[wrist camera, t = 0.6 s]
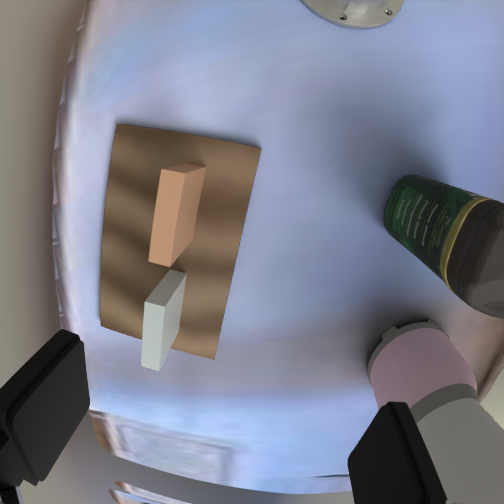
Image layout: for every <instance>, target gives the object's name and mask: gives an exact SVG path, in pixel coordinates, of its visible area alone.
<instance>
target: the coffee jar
mask: <svg viewBox="0 0 504 504" xmlns="http://www.w3.org/2000/svg"><path fill="white" fill-rule="evenodd" d="M384 224H385V228H386V230H387V231H388V233H389V234H390V235H391V236H392V237H393V238H394V239H396V240H397V241H398V242H399V243H400V244H402V245H403V246H404V247H405V248H407V249H408V250H409V251H410V252H411V253H413V254H414V255H415V256H416V257H417V258H418V259H420V260H421V261H422V262H423V263H424V264H425V265H426V266H427V267H428V268H430V269H431V270H432V271H433V272H434V273H435V274H436V275H437V276H438V277H439V278H441V279H442V280H443V281H444V282H445V284H446V285H447V286H448V288H449V289H450V290H451V291H452V292H453V293H454V294H456V295H457V296H458V297H459V298H460V299H462V300H463V301H464V302H465V303H466V304H467V305H469V306H470V307H472V308H473V309H475V310H478V311H480V312H482V313H484V314H487V315H489V316H493V317H497V318H502V319H504V203H501V202H499V201H496V200H493V199H490V198H487V197H484V196H481V195H478V194H475V193H472V192H469V191H466V190H463V189H460V188H457V187H454V186H450V185H447V184H444V183H440V182H438V181H435V180H431V179H428V178H425V177H421V176H418V175H407V176H404V177H402V178H401V179H400V180H399V181H398V182H397V183H396V184H395V186H394V187H393V190H392V191H391V194H390V196H389V199H388V201H387V205H386V208H385V213H384Z"/></svg>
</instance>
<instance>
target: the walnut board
mask: <svg viewBox="0 0 504 504" xmlns="http://www.w3.org/2000/svg"><path fill="white" fill-rule="evenodd" d="M260 153H261V148H258V147H253V146H248V145H244V144H239V143H234V142H230V141H225V140H219V139H214V138H209V137H204V136H198V135H192V134H187V133H181V132H175V131H168V130H162V129H155V128H148V127H140V126H133V125H124V124H117V126H116V131H115V137H114V143H113V149H112V155H111V162H110V169H109V176H108V184H107V192H106V202H105V212H104V223H103V237H102V254H101V284H100V318H101V326H102V327H105V328H108V329H111V330H114V331H117V332H120V333H123V334H126V335H129V336H132V337H135V338H138V339H141V340H142V335H143V318H144V304H145V300H146V299H147V298H148V296H149V295H150V294H151V293H152V291H153V290H154V289H155V288H156V286H157V285H158V284H159V283H160V281H161V280H162V279H163V278H164V276H165V275H166V274H167V273H168V271H169V270H170V269H171V270H175V271H179V272H183V273H187V276H186V283H185V289H184V296H183V303H182V310H181V317H180V325H179V332H178V334H177V336H176V338H175V340H174V342H173V344H172V346H171V348H172V349H175V350H179V351H182V352H186V353H190V354H194V355H198V356H201V357H205V358H209V359H213V360H214V358H215V354H216V349H217V344H218V340H219V335H220V330H221V326H222V321H223V317H224V312H225V307H226V303H227V298H228V294H229V289H230V285H231V280H232V276H233V271H234V267H235V262H236V258H237V253H238V249H239V244H240V240H241V235H242V231H243V226H244V222H245V218H246V213H247V209H248V204H249V200H250V196H251V191H252V187H253V183H254V178H255V174H256V170H257V166H258V161H259V157H260ZM186 163H190V164H195V165H200V166H205V167H206V171H205V176H204V181H203V186H202V191H201V196H200V201H199V206H198V212H197V217H196V223H195V228H194V234H193V240H192V241H191V242H190V244H189V245H188V246H187V247H186V248H185V250H184V251H183V252H182V253H181V254H180V256H179V257H178V258H177V259H176V260H175V262H174V263H173V264H172V265H171V266H170V267H168V266H164V265H160V264H156V263H152V262H149V252H150V243H151V235H152V227H153V220H154V213H155V206H156V199H157V193H158V187H159V181H160V175H161V169H163V168H168V167H172V166H177V165H181V164H186Z"/></svg>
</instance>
